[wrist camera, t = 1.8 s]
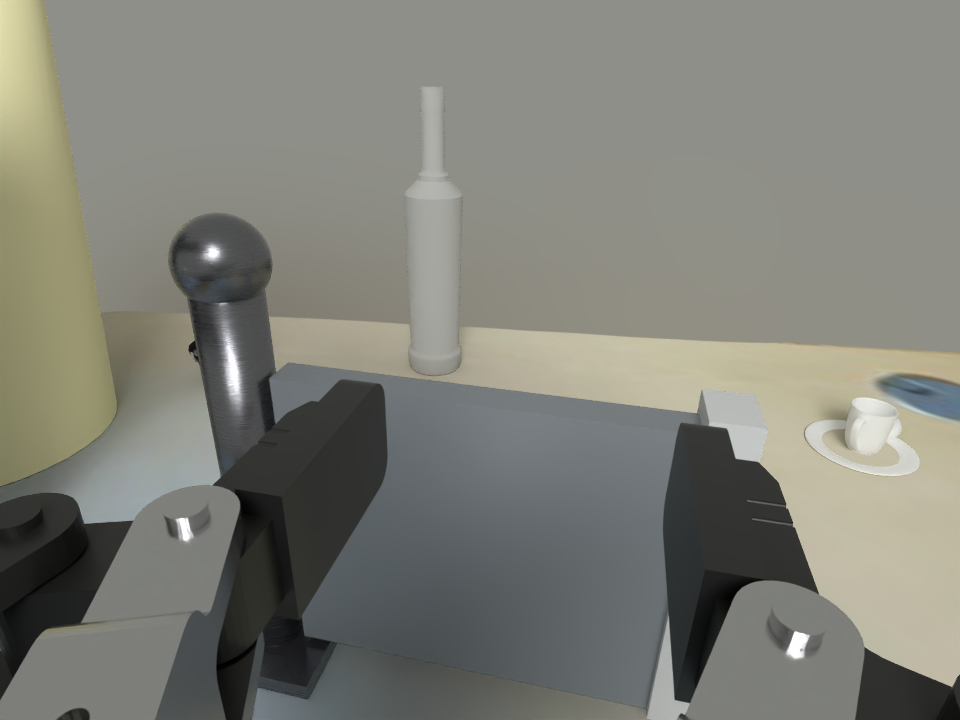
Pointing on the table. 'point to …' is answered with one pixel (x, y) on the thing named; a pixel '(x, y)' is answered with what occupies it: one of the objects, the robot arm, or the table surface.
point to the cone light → (43, 265)
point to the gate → (516, 534)
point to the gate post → (241, 389)
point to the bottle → (433, 249)
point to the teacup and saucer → (867, 437)
